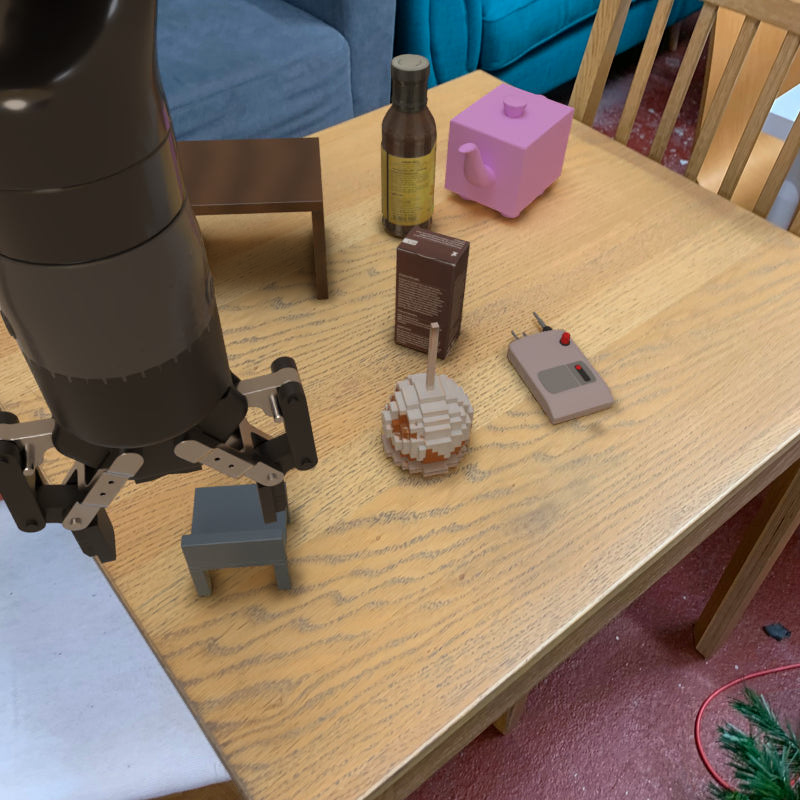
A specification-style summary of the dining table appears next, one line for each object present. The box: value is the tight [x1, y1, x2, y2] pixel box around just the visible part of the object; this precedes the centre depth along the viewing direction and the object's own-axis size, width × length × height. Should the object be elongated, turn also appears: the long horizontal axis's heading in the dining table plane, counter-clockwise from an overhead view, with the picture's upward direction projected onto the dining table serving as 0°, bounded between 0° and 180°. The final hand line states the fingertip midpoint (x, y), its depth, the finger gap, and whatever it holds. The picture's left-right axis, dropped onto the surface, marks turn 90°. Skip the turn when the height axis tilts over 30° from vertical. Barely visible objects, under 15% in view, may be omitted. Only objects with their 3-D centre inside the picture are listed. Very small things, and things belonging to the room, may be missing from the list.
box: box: [393, 226, 471, 360], centre depth 75 cm, size 6×4×12 cm
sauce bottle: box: [380, 53, 438, 239], centre depth 86 cm, size 6×6×20 cm
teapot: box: [443, 82, 576, 219], centre depth 93 cm, size 20×10×12 cm, turn 144°
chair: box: [180, 481, 292, 598], centre depth 60 cm, size 7×7×8 cm
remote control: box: [506, 311, 615, 440], centre depth 76 cm, size 7×16×3 cm, turn 22°
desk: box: [176, 136, 329, 300], centre depth 82 cm, size 16×12×12 cm
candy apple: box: [380, 322, 475, 478], centre depth 65 cm, size 8×8×15 cm
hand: (189, 528), depth 42 cm, fingers open, 8 cm apart
